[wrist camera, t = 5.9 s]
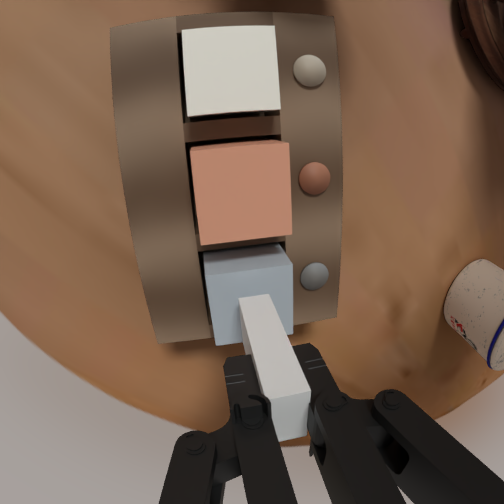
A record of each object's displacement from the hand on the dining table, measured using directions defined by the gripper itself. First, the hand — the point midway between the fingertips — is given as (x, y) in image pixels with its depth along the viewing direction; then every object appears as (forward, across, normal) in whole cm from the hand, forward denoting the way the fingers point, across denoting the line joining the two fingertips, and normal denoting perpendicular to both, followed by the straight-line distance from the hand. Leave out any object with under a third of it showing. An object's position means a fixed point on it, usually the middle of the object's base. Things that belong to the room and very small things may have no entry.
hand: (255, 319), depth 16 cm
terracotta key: (+6, 0, +6) cm, 9 cm away
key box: (+9, 0, +6) cm, 10 cm away
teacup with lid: (+9, +27, -9) cm, 30 cm away
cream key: (+7, 0, +12) cm, 14 cm away
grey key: (+6, 0, 0) cm, 6 cm away
